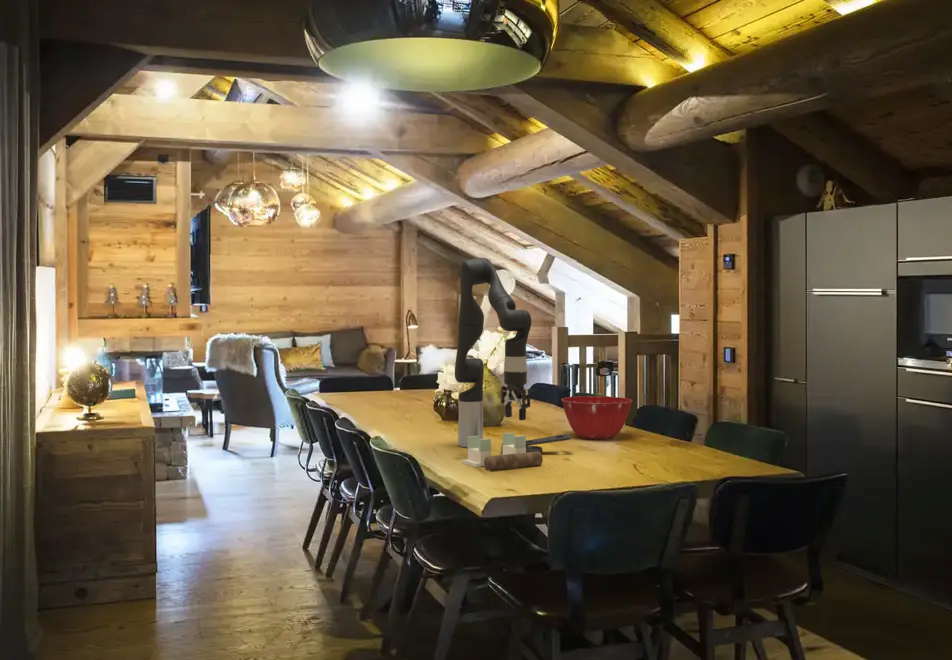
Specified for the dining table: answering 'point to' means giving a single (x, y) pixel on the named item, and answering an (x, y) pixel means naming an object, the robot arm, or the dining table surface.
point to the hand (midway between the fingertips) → (515, 418)
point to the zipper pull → (542, 442)
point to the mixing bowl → (596, 415)
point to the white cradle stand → (483, 448)
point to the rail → (513, 460)
